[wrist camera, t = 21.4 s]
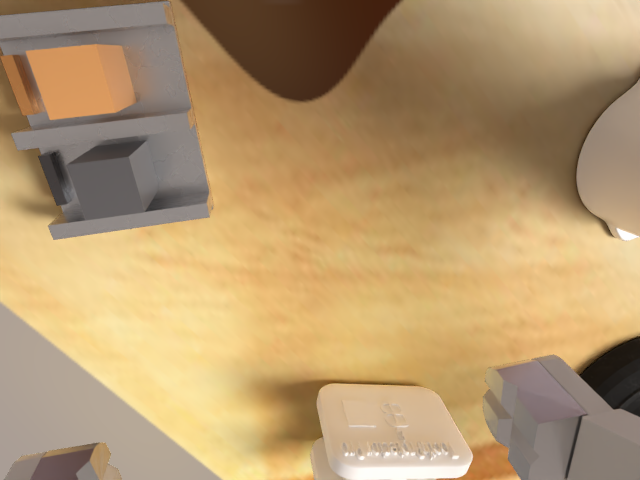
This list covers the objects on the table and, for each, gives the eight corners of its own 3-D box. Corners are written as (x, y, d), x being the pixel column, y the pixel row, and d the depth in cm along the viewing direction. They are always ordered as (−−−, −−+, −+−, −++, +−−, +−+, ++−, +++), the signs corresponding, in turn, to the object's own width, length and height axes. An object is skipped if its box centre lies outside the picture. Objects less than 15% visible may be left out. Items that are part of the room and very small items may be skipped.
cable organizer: (300, 441, 52) (315, 540, 41) (316, 374, 48) (337, 465, 37) (411, 442, 55) (451, 533, 45) (435, 379, 51) (484, 463, 41)
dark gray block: (147, 140, 33) (128, 157, 28) (159, 187, 35) (144, 212, 30) (95, 146, 33) (66, 164, 28) (110, 194, 35) (85, 220, 29)
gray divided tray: (170, 2, 31) (161, -5, 27) (213, 205, 38) (210, 221, 34) (-4, 17, 29) (-38, 12, 26) (73, 225, 36) (55, 244, 33)
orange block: (121, 45, 31) (95, 44, 25) (136, 102, 32) (115, 112, 27) (64, 51, 30) (25, 50, 25) (82, 108, 32) (50, 119, 26)
